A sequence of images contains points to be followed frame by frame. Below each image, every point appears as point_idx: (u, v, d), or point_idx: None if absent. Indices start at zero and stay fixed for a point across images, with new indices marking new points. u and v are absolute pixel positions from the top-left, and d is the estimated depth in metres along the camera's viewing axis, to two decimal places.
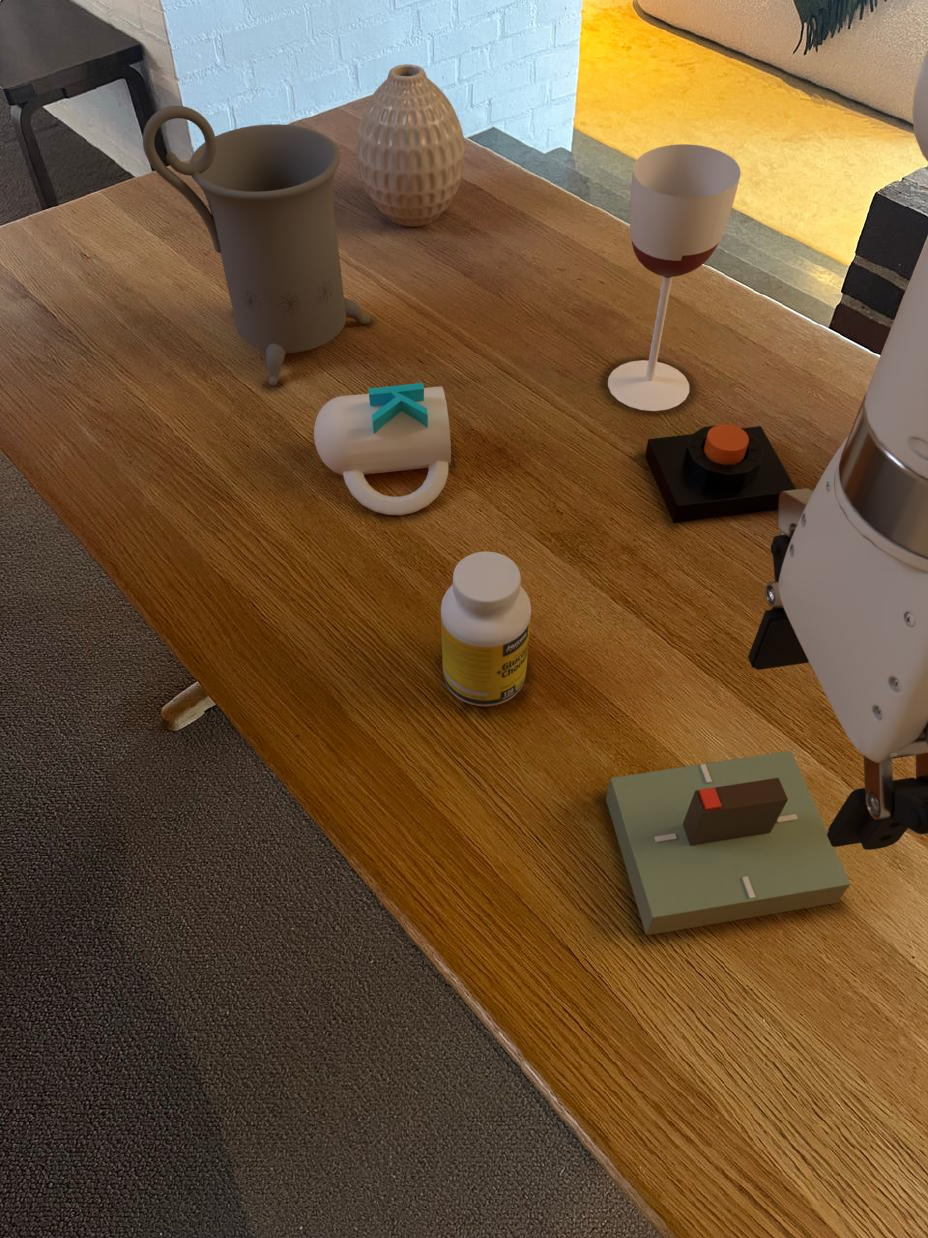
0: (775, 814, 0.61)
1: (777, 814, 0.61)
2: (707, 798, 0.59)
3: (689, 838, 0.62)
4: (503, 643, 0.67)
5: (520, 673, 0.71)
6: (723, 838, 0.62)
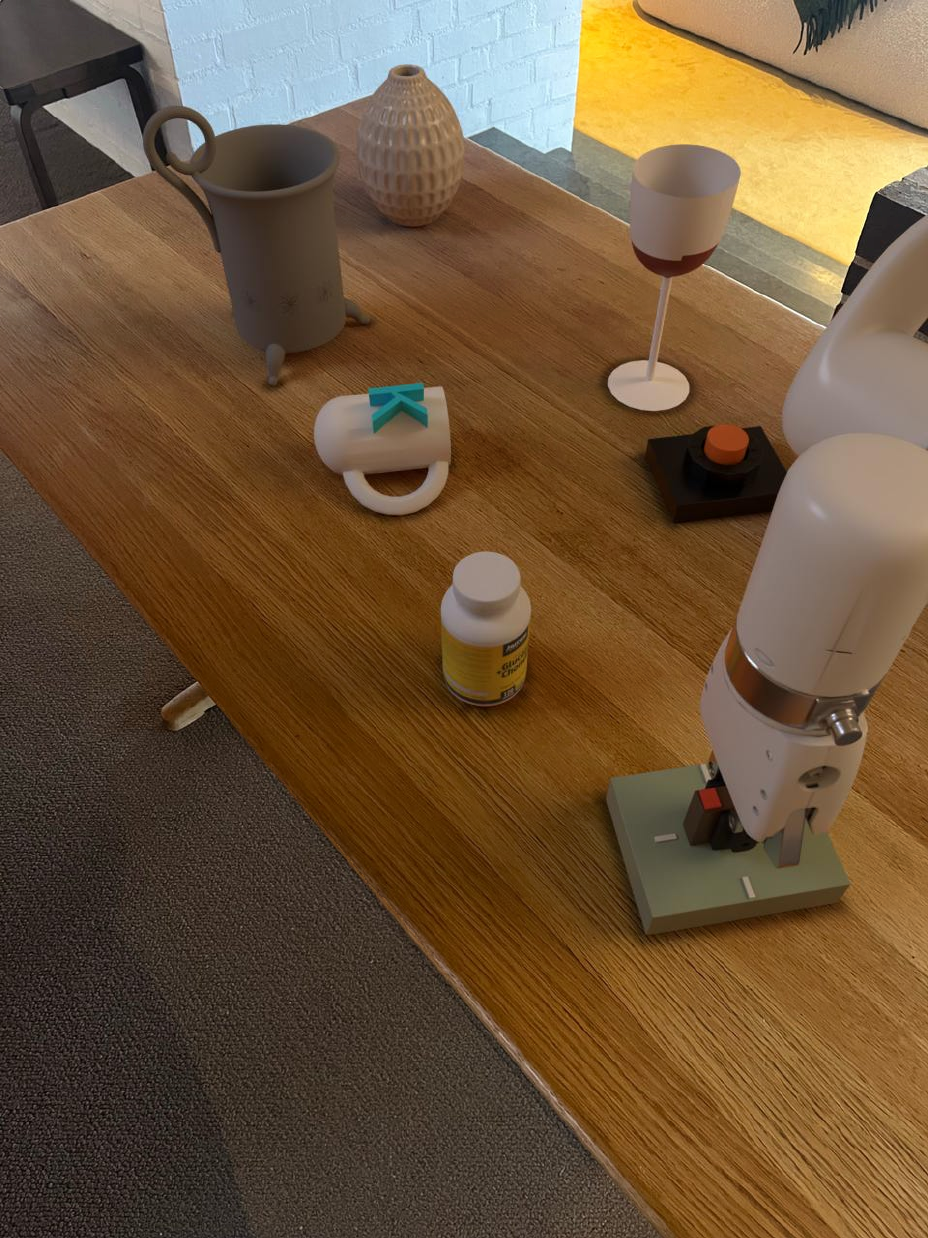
0: None
1: None
2: (707, 798, 0.59)
3: (689, 838, 0.62)
4: (503, 643, 0.67)
5: (520, 673, 0.71)
6: None
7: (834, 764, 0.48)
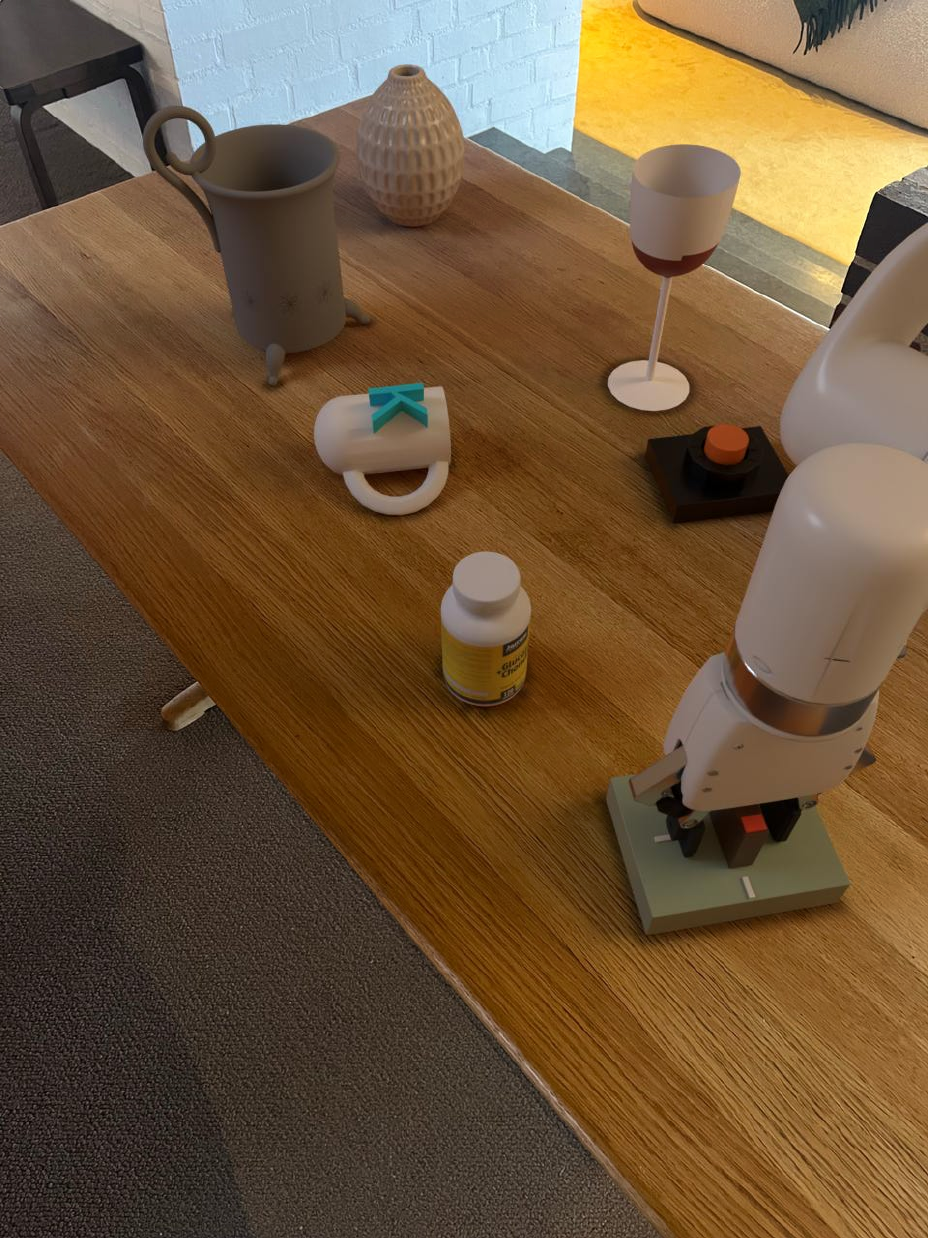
0: None
1: None
2: (755, 825, 0.58)
3: (749, 863, 0.61)
4: (503, 643, 0.67)
5: (520, 673, 0.71)
6: None
7: None
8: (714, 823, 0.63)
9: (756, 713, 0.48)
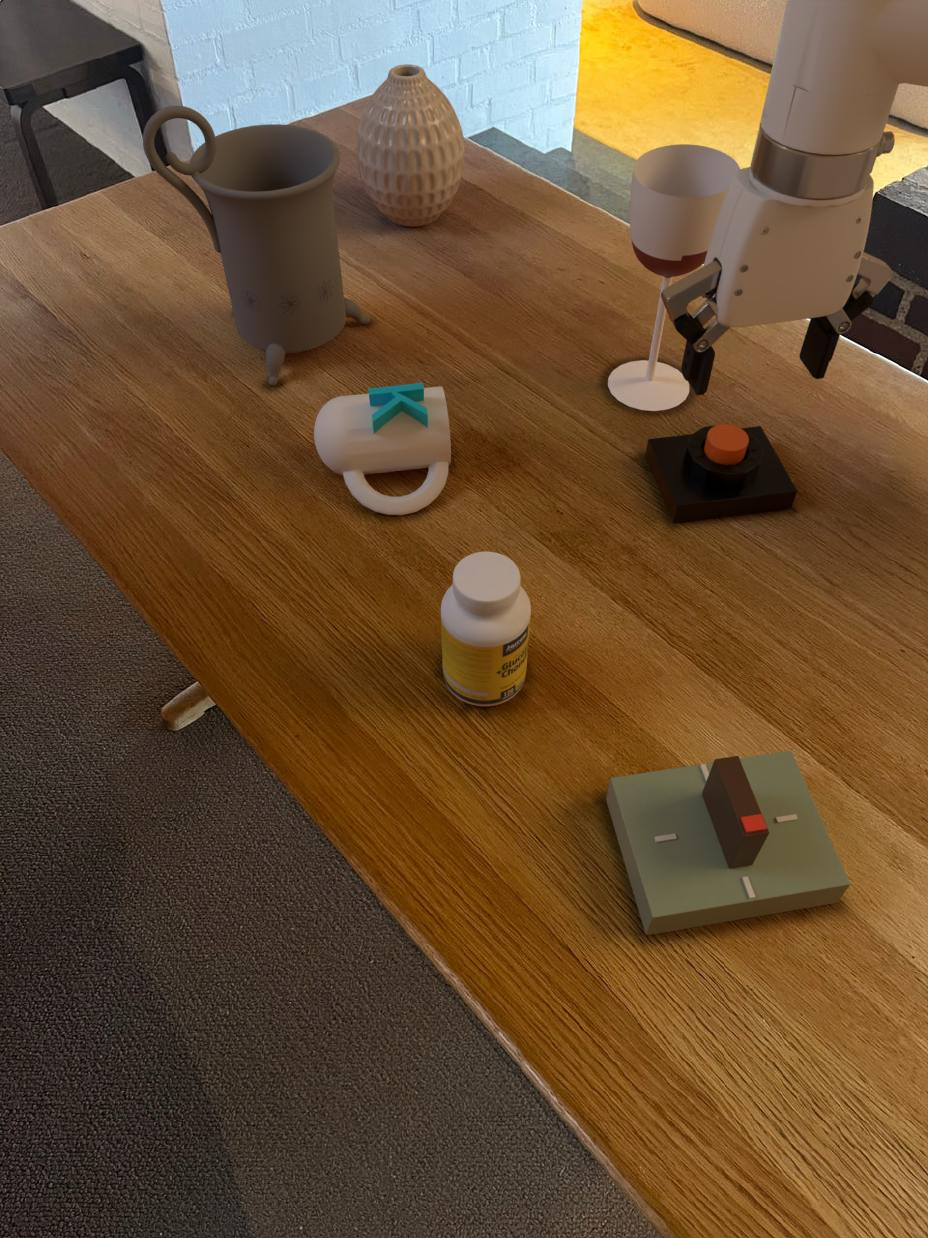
0: None
1: None
2: (755, 825, 0.58)
3: (749, 863, 0.61)
4: (503, 643, 0.67)
5: (520, 673, 0.71)
6: None
7: None
8: (714, 823, 0.63)
9: (779, 186, 0.61)
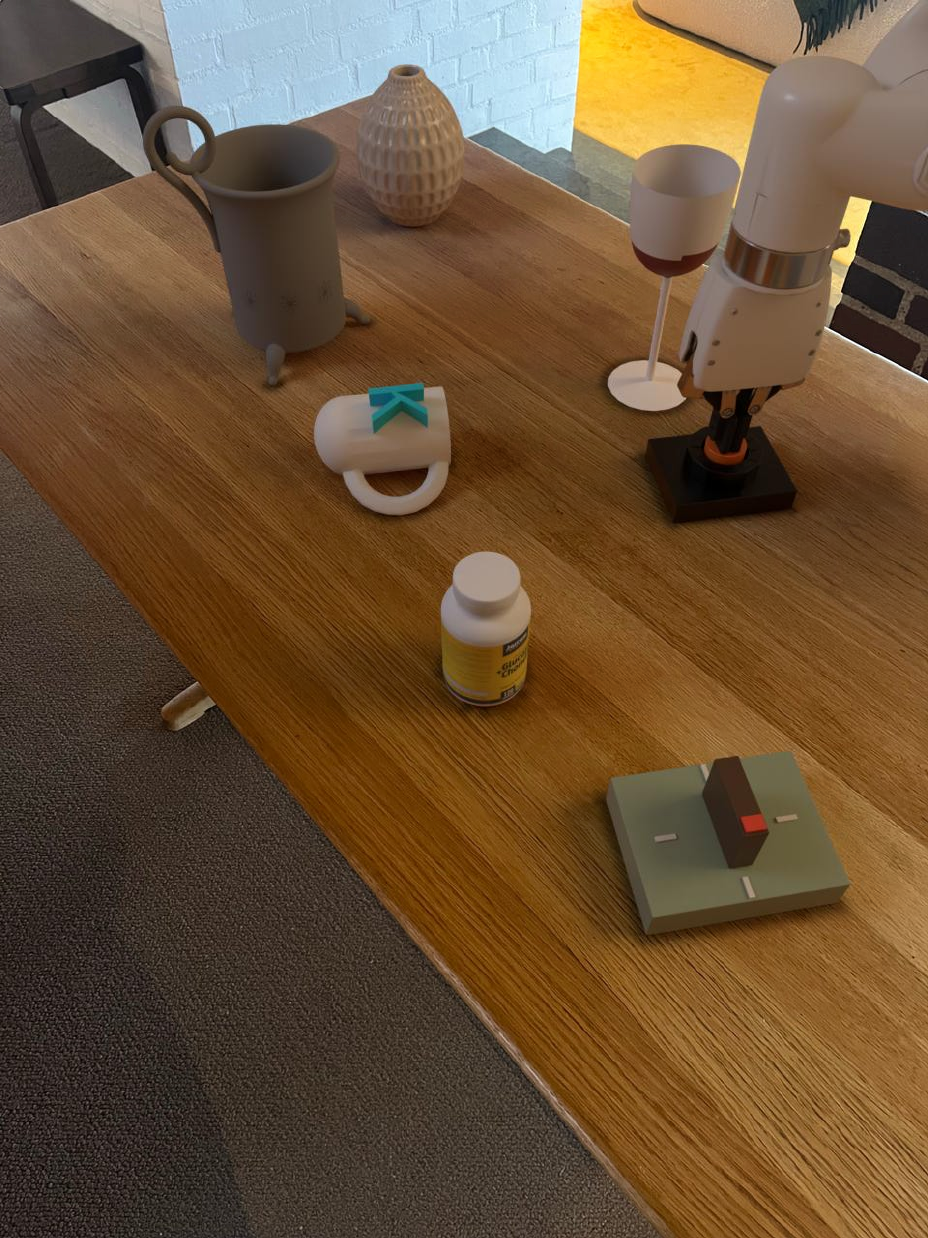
0: None
1: None
2: (755, 825, 0.58)
3: (749, 863, 0.61)
4: (503, 643, 0.67)
5: (520, 673, 0.71)
6: None
7: None
8: (714, 823, 0.63)
9: (746, 275, 0.69)
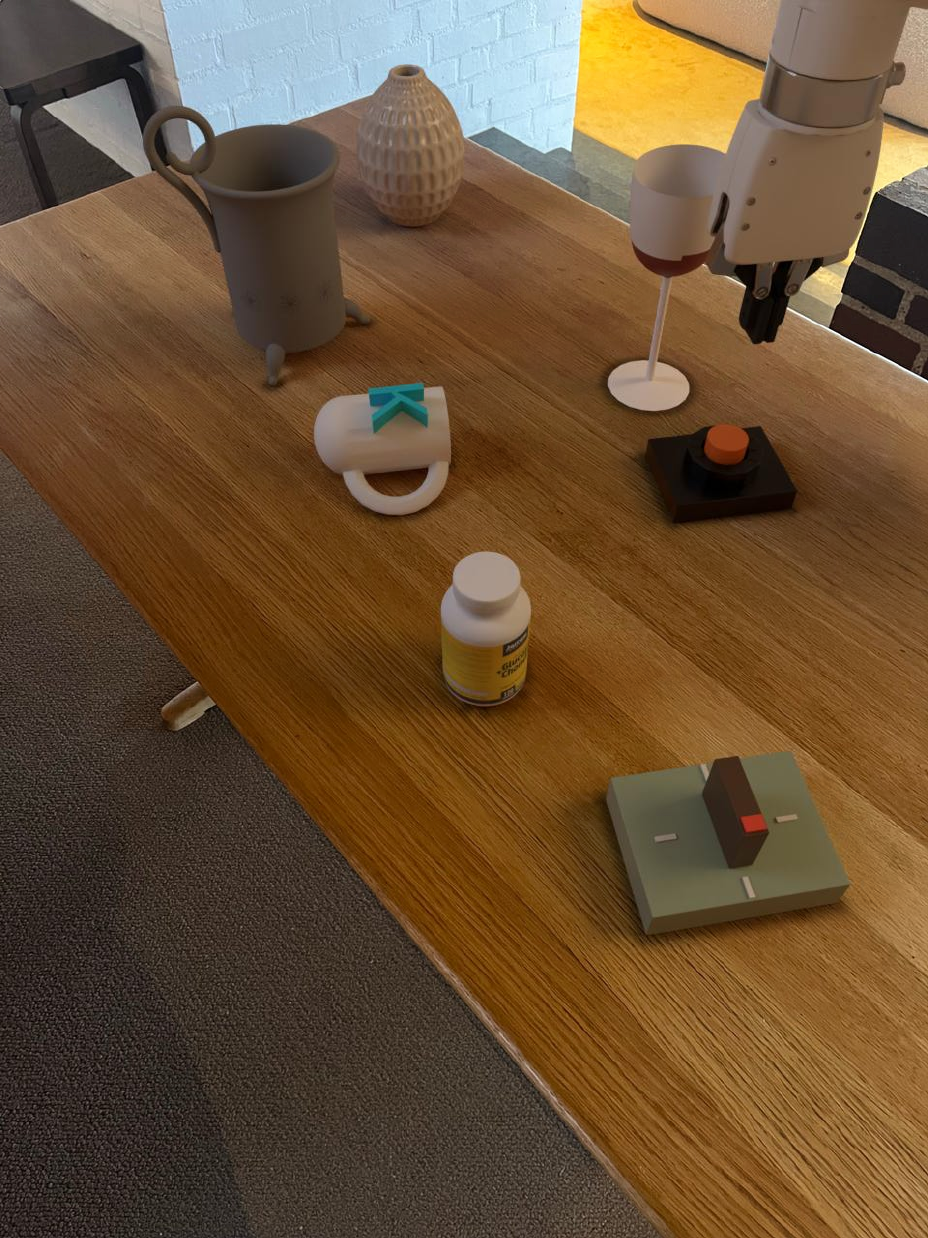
0: None
1: None
2: (755, 825, 0.58)
3: (749, 863, 0.61)
4: (503, 643, 0.67)
5: (520, 673, 0.71)
6: None
7: None
8: (714, 823, 0.63)
9: (787, 114, 0.61)
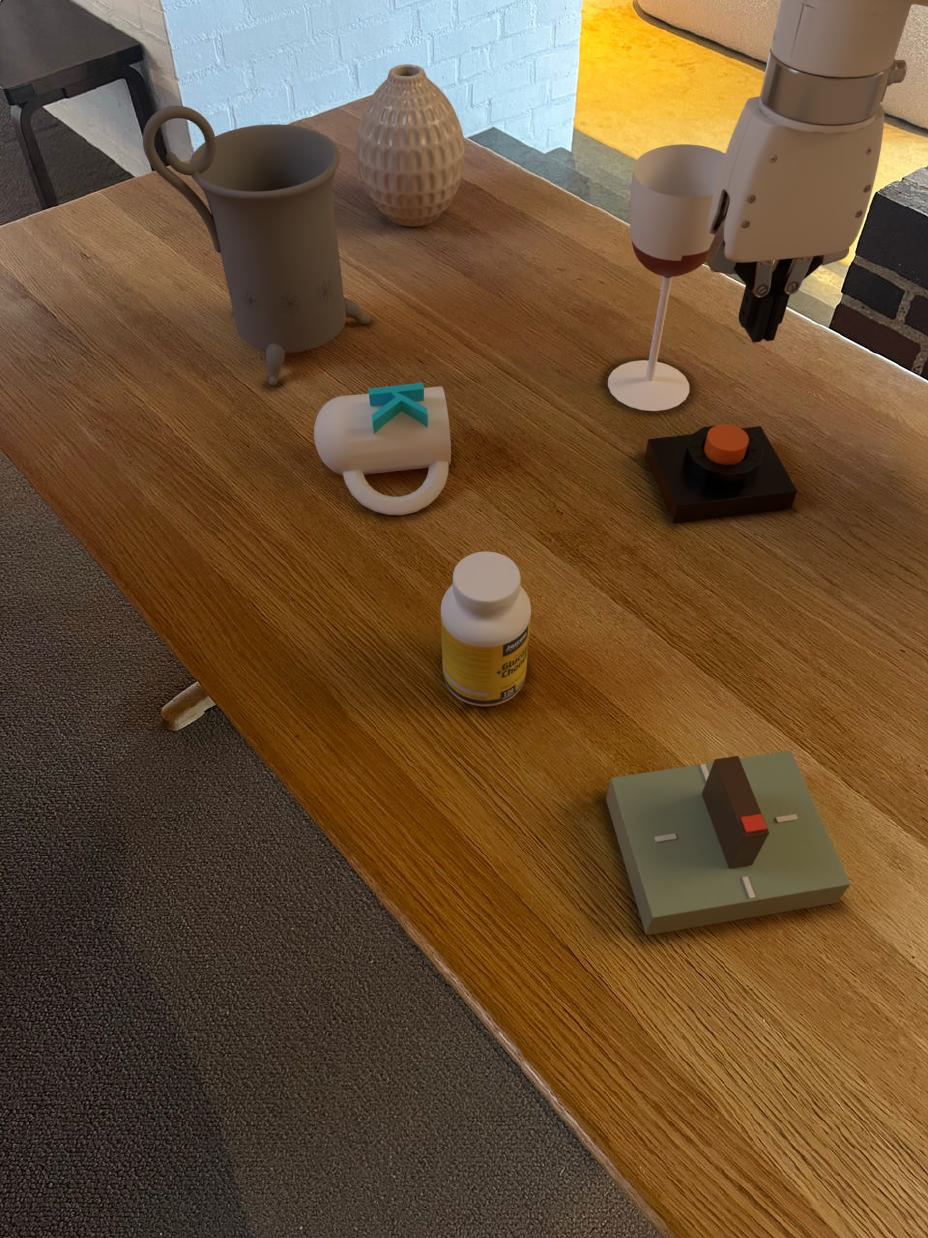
0: None
1: None
2: (755, 825, 0.58)
3: (749, 863, 0.61)
4: (503, 643, 0.67)
5: (520, 673, 0.71)
6: None
7: None
8: (714, 823, 0.63)
9: (788, 111, 0.60)
